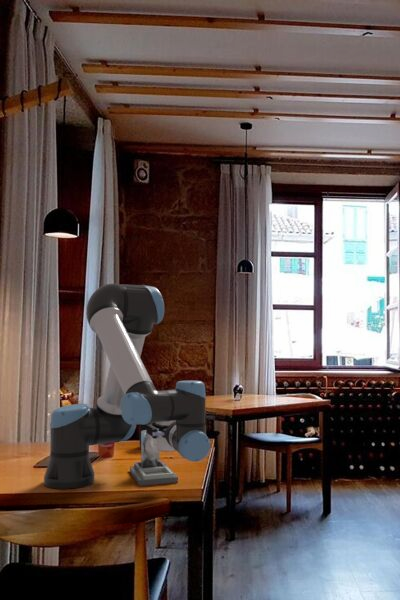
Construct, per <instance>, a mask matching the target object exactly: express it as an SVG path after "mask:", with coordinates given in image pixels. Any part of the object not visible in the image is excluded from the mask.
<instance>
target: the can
mask: <svg viewBox="0 0 400 600" xmlns="http://www.w3.org/2000/svg"><path fill="white" fill-rule="evenodd" d="M175 421H176V420H174V421H163V422H158V424H159V425H163V426H164V425H170V424H171V423H173V422H175ZM157 449H158V451H159V452H166V453H167V452H175V451H176V450H175V449H174V448H173V447H171V446H170V445H169V444H168V442H167V440H166V438H163V437H162V436H159V437H158V438H157ZM176 452H177V451H176Z"/></svg>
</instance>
